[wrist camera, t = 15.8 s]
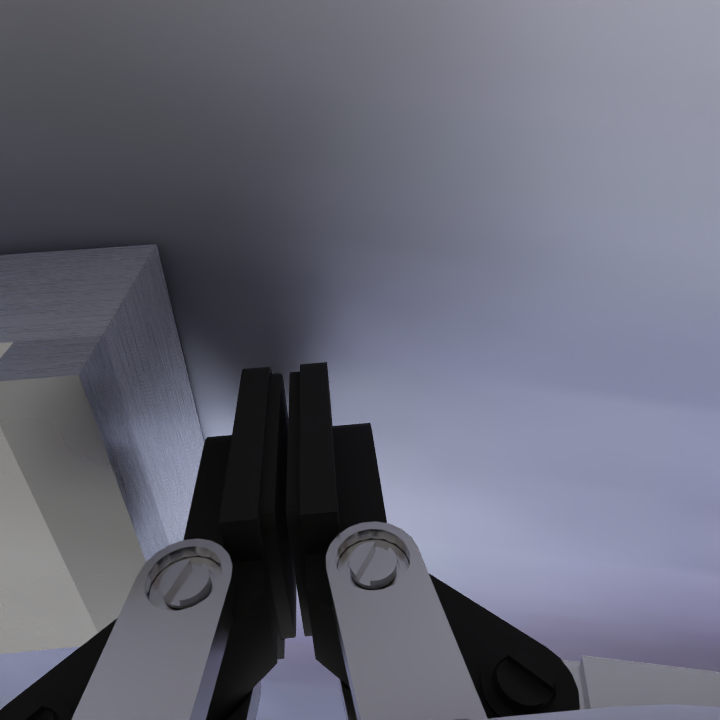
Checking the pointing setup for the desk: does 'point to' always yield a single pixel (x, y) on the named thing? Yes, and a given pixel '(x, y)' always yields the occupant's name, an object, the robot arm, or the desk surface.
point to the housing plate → (87, 438)
